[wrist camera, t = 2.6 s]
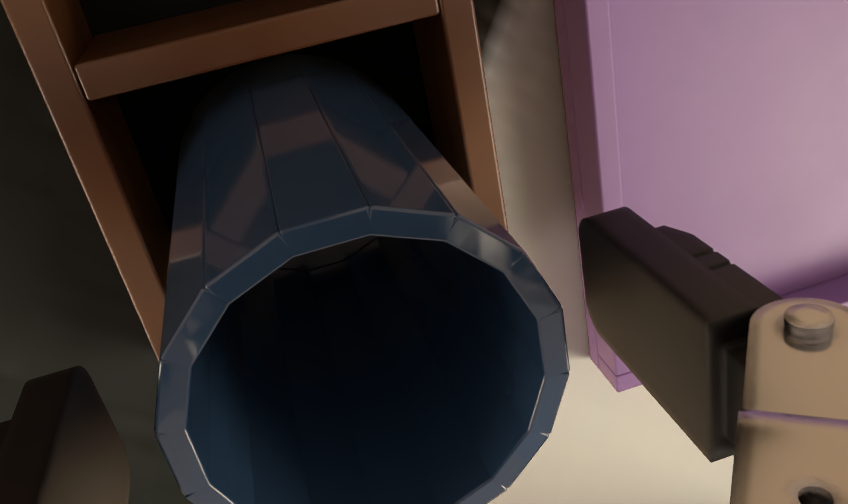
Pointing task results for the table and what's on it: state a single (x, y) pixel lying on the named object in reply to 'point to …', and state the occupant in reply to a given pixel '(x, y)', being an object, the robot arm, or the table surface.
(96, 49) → the rack
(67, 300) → the table surface
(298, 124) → the tumbler
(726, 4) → the tray
